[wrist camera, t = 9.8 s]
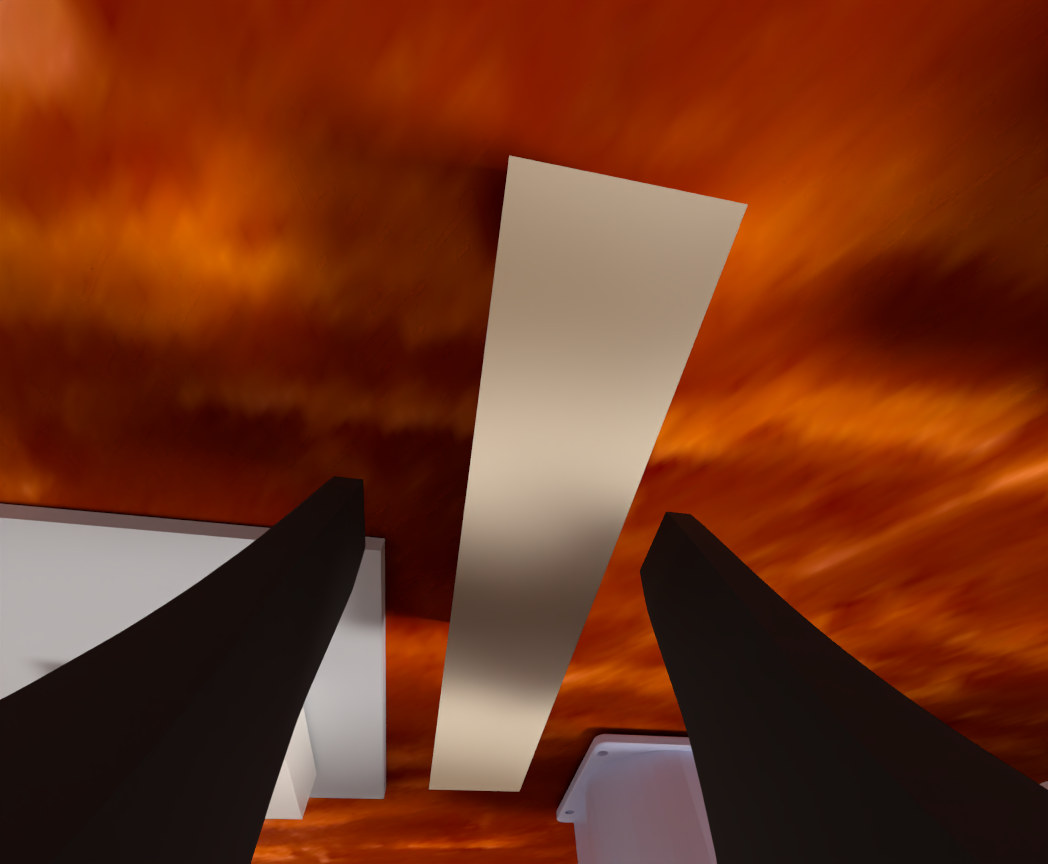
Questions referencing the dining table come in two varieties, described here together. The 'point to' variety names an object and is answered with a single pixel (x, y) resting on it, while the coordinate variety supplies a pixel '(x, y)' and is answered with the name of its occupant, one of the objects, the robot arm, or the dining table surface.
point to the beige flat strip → (562, 437)
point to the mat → (155, 579)
